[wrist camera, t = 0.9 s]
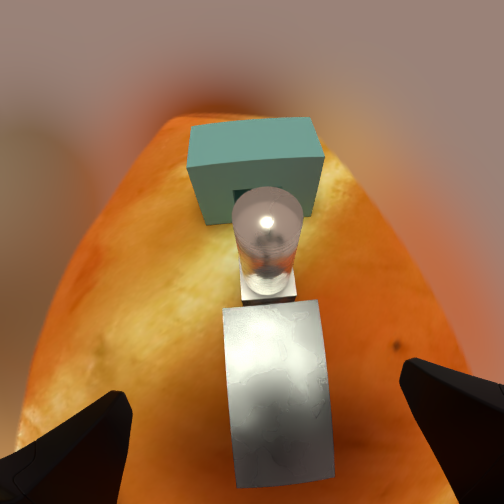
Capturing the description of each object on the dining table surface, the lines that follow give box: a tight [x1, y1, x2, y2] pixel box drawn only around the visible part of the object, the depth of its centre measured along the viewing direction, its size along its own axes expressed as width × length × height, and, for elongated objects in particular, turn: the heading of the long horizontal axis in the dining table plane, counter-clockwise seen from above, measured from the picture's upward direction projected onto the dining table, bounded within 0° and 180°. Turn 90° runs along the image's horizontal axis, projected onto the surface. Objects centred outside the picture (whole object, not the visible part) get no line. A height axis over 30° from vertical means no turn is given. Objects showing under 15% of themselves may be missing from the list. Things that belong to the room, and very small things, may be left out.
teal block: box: [186, 117, 325, 225], centre depth 23 cm, size 5×10×8 cm, turn 94°
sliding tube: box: [232, 186, 303, 307], centre depth 15 cm, size 19×4×11 cm, turn 4°
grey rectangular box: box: [223, 300, 335, 488], centre depth 16 cm, size 12×6×5 cm, turn 4°
